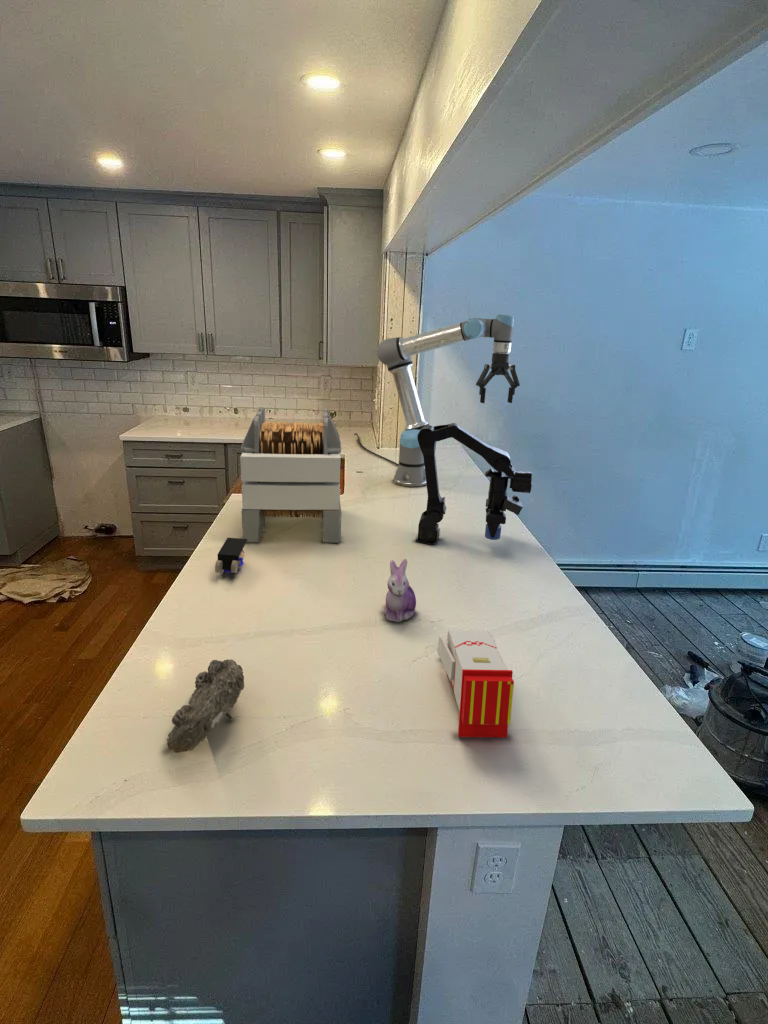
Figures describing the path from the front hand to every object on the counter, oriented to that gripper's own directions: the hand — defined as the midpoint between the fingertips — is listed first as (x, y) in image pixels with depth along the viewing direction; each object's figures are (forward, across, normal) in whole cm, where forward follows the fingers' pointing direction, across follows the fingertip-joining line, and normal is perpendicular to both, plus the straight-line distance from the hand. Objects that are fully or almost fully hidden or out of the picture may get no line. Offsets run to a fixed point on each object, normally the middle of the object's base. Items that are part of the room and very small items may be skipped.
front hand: (492, 534), depth 191 cm
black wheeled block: (+5, -38, +76) cm, 85 cm away
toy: (+5, -80, +5) cm, 80 cm away
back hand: (-33, +75, +1) cm, 82 cm away
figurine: (+5, -52, +24) cm, 57 cm away
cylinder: (+1, 0, 0) cm, 1 cm away
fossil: (+5, -99, +53) cm, 112 cm away
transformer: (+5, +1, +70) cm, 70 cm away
